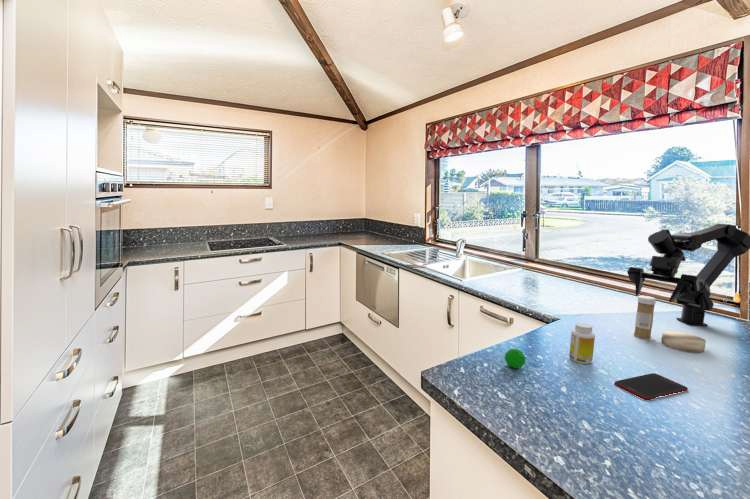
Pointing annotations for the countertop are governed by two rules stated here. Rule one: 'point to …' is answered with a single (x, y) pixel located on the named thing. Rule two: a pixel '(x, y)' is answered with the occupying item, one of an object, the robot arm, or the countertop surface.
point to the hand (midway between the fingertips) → (652, 298)
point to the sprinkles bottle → (644, 317)
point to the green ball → (515, 358)
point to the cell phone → (650, 386)
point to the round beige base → (683, 341)
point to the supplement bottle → (582, 343)
